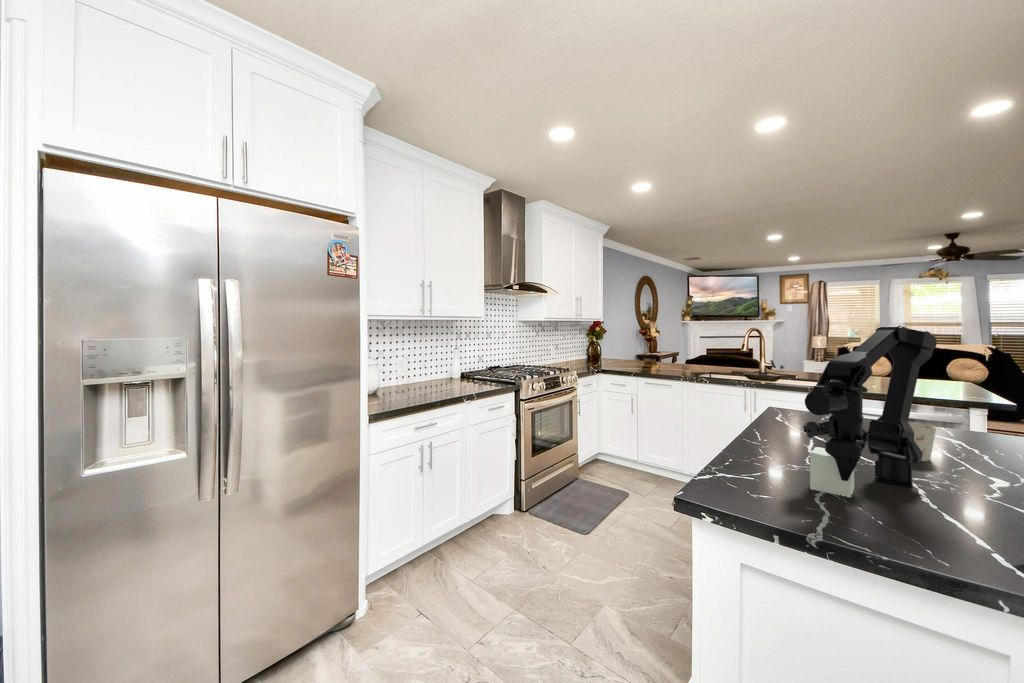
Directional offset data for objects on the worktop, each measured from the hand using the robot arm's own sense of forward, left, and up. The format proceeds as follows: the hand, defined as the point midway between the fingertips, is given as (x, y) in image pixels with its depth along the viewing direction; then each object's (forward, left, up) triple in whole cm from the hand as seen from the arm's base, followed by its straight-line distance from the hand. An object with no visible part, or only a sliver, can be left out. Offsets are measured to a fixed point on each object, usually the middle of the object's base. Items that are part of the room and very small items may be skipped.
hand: (846, 475), depth 97 cm
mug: (-10, -42, -4) cm, 43 cm away
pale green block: (+3, 0, -4) cm, 5 cm away
